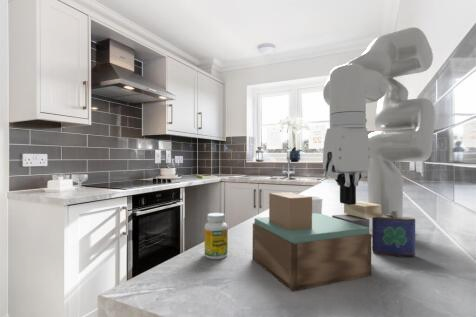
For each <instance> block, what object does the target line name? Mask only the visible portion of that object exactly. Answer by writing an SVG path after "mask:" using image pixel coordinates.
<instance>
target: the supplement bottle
mask: <svg viewBox="0 0 476 317" xmlns="http://www.w3.org/2000/svg"><path fill="white" fill-rule="evenodd" d="M206 219H207V222H206V223H205V224H204V256H205V258H207V259H210V260H222V259H224V258H227V256H228V252H229V251H228V249H229V247H228V241H229V240H228V239H229V236H228V231H229V229H228V224H227V223H226V222H225V220H226V216H225V213H222V212H210V213H207V218H206Z"/></svg>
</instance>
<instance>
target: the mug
mask: <svg viewBox="0 0 476 317" xmlns="http://www.w3.org/2000/svg"><path fill="white" fill-rule="evenodd" d="M309 196H310V197H312V214H313V213H319V214H323V213H322V211H323V210H322V209H323V197H321V196H318V195H309Z"/></svg>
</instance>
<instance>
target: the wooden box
mask: <svg viewBox="0 0 476 317" xmlns="http://www.w3.org/2000/svg"><path fill="white" fill-rule="evenodd" d="M331 217H333V218H337V219H340V220H344V221H347V222H351V223H354V224H358V225H361V226H364V227H368V228H369V219H367V218H361V217H357V216H353V215H349V214H345V213H344V214H334V215H331ZM254 223H255V222H254ZM254 223H252V258H251V260H253V261H255V262H256V263H257V264H258V265H259V266H260V267H261V268H263V269H264V270H265V271H266V272H268V274H270V275H271V276H273V277H274V279H276V280H277V281H278V282H280V283H281V284H282V285H283V286H285V287H286V288H287V289H288V290H290V291H291V292H297V291H302V290H307V289H312V288H316V287H321V286H326V285H331V284H335V283H340V282H341V283H342V282H346V281H351V280H356V279H361V278H366V277H370V276H372V235H371V234H365V235H357V236H349V237H342V238H334V239H326V240H318V241H310V242H303V243H295V244H293V243H291V242H289V241H287V240H285V239H283V238H281V237H279V236H277V235H275V234H274V233H272V232H270V231H268V230H266V229H264V228H262V227H260V226H258V225H256V224H254Z"/></svg>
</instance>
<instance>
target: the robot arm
mask: <svg viewBox="0 0 476 317" xmlns="http://www.w3.org/2000/svg"><path fill="white" fill-rule="evenodd" d="M433 55H434V54H433V50H432V47H431V45H430V42H429V40H428V38H427V36H426V35H425V32H424V31H422V29H420V28H419V27H414V26H413V27H407V28H405V29H401V30H400V29H399V30H398V31H393V32H390V33H386V34H383V35H380V36H378V37H377V38H375V39H374V40H373V41H371V43H370V44H369V45H368V46H367V48H366V50H365V51H364V52H363V53H362V54H361V55H359V56H356V57H355V58H353V59H352V60H350V61H348V62H347V63H345V64H342V65H339V66H335V67H334V68H332V69H331V71H330V72H329V77H328V78H327V80H326V81H325V84H324V87H323V90H322V95H323V98H324V99H323V100H324V102H325V103H326V104H327V106H329V128H327V129H326V133H325V137H324V141H323V152H322V169H323V171H325V172H326V177H327V178H328V179H331V180H335V182H336V183H337V184H336V185H337V186H339V203H340V204H343V205H344V204H347V205H352V204H356V201H357V187H358V185H359V183H360V182H359V181H360V180H361V179H364V178H366V177H367V203H373V204H378V205H381V214H382V215H383V214H387V215H388V214H390V213H391V212H392V210H397V211H398V212H397V214H398V216H397V217H404V215H403V214H404V212H403V211H404V206H403V205H404V202H403V201H404V177H403V174H402V172H401V171H400V169H399V168H398V167H397V166H396V165H395V163H394V162H396V163H397V162H398V163H399V162H407V163H408V162H409V163H410V162H418V163H419V162H425V161H427V160H428V159H430V157H431V156H432V153H433V145H434V135H435V134H434V133H435V122H436V121H435V120H436V110H435V106H434V103H433V102H432V101H431V100H430V99H429V98H424V97H421V98H420V97H419V98H418V97H417V98H411V99H410V98H409V90H408V88H406V86H405V85H404V84H403V83H401V82H400V81H398V80H396V79H395V78H397V77H403V76H407V75H414V74H420V73H424V72H426V71H428V70H429V69H430V68H431V67H432V63H433V59H434V56H433ZM408 98H409V99H408ZM372 103H377V104H376V110H375V116H374V125H375V127H376V129H378V130H376V131H372V132H370V133H368V128H367V121H368V120H367V115H366V114H367V113H366V112H367V109H366V108H367V107H366V106H367V104H372ZM387 215H383V216H387ZM366 219H369V234H371V236H372V218H366Z"/></svg>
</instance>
